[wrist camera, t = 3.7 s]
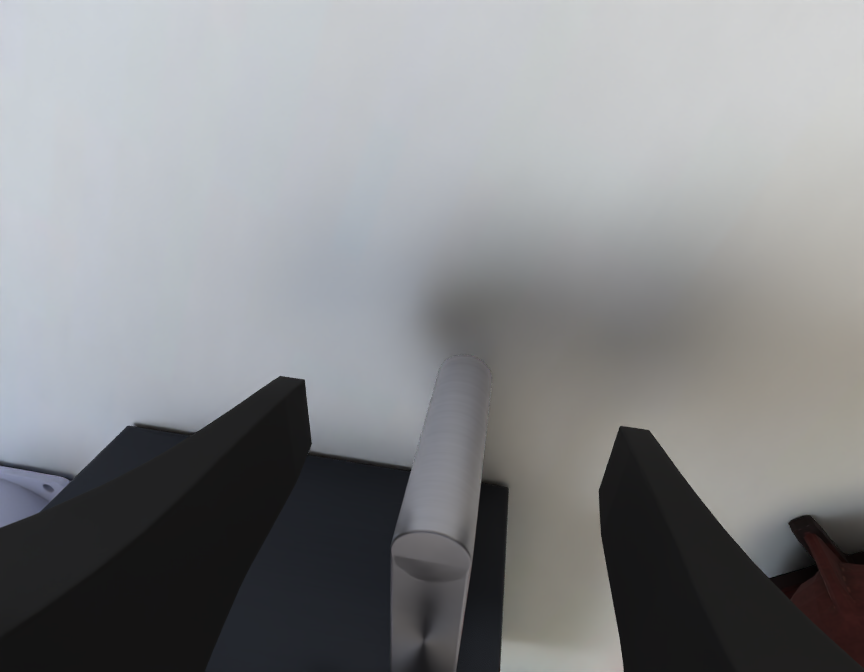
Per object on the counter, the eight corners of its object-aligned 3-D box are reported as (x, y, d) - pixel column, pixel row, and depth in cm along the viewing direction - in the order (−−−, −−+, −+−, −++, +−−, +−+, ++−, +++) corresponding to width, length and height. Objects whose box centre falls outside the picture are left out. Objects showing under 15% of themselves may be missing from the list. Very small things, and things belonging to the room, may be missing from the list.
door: (73, 275, 17) (-520, 591, 7) (537, 334, 15) (549, 855, 6) (132, 439, 21) (-203, 782, 11) (506, 501, 19) (481, 973, 10)
